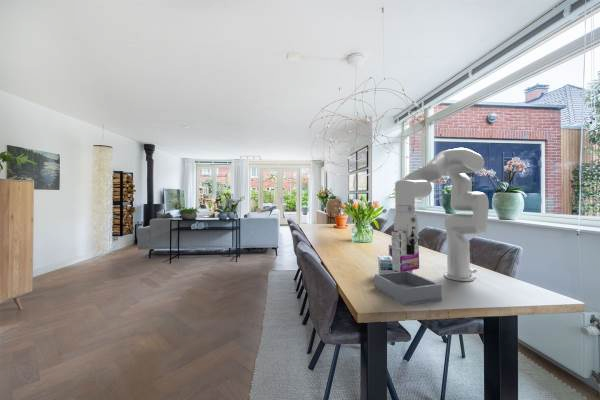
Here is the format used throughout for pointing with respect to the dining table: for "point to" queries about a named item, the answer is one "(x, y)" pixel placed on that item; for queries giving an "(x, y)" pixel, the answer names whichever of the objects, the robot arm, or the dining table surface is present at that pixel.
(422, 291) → the tray
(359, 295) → the dining table surface
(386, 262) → the light bulb box
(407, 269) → the candy bar box
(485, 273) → the dining table surface
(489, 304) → the dining table surface
